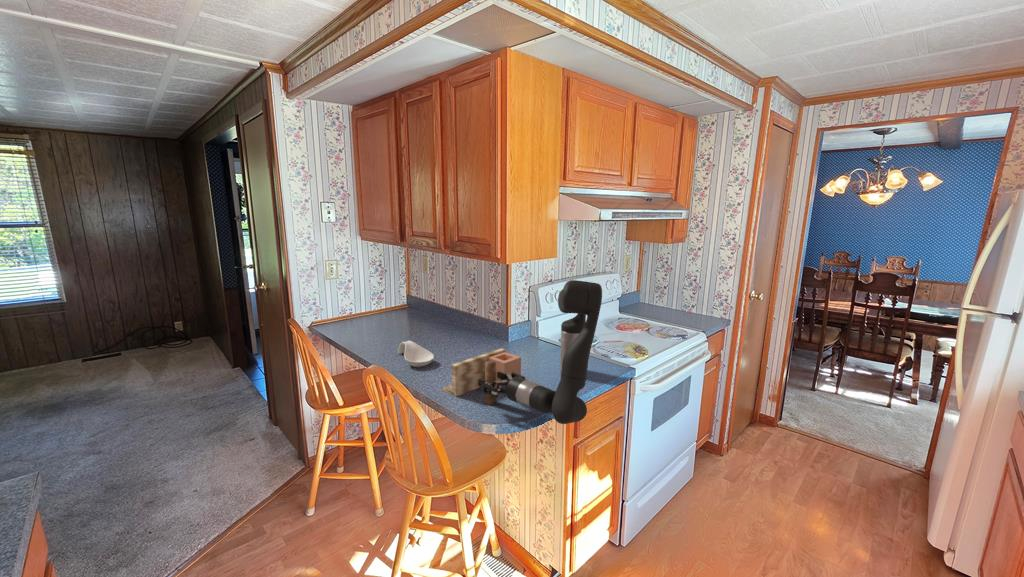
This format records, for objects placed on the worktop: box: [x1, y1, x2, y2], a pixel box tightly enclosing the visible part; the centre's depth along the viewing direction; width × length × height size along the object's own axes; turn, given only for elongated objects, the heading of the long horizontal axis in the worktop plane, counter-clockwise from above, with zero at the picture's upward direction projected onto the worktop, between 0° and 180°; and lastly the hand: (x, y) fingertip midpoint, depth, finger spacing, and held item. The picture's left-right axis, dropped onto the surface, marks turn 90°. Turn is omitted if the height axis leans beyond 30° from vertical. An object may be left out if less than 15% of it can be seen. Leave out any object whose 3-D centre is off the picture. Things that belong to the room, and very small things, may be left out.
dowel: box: [484, 361, 497, 406], centre depth 142 cm, size 4×4×14 cm
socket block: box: [488, 351, 522, 388], centre depth 157 cm, size 8×8×10 cm
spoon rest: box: [397, 340, 435, 368], centre depth 182 cm, size 24×12×7 cm, turn 38°
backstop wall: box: [442, 347, 506, 397], centre depth 157 cm, size 24×7×11 cm, turn 136°
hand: (488, 378), depth 142 cm, fingers open, 8 cm apart
